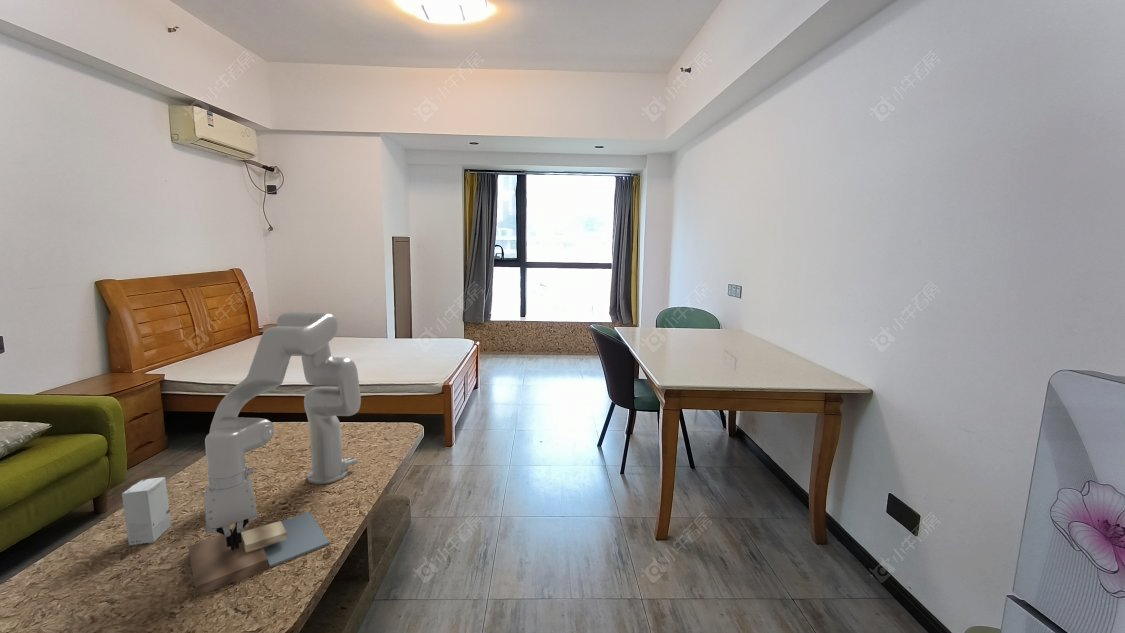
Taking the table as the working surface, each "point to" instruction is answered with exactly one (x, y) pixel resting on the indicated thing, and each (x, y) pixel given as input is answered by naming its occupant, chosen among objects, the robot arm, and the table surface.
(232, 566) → the block
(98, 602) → the table surface
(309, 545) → the mat
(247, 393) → the robot arm
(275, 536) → the tile
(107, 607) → the table surface
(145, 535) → the skincare box
